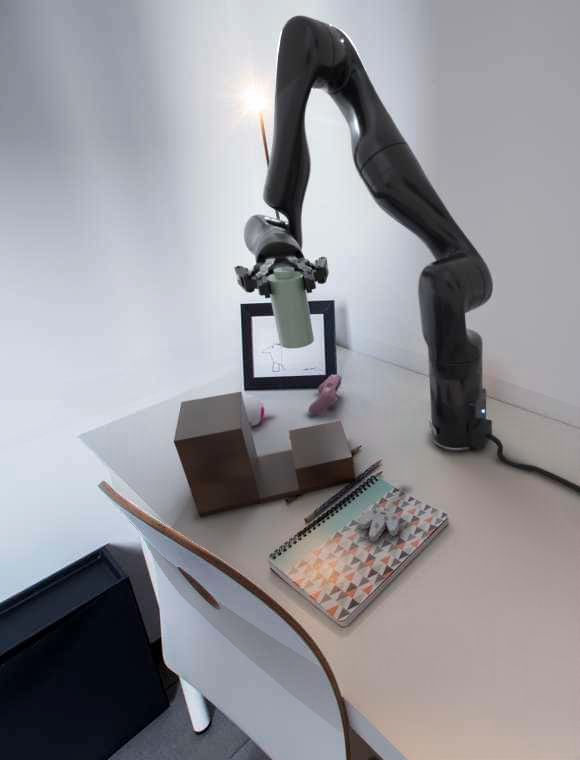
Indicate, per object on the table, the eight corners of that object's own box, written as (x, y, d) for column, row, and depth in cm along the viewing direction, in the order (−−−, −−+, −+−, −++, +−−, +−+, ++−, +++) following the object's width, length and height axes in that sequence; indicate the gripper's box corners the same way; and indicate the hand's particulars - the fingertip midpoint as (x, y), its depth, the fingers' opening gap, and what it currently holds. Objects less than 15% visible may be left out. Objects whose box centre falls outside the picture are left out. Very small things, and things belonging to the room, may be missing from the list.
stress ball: (266, 443, 104) (281, 415, 102) (225, 432, 99) (240, 403, 97) (261, 423, 110) (275, 396, 108) (222, 412, 105) (236, 384, 103)
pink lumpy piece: (327, 422, 106) (339, 395, 103) (306, 414, 106) (316, 386, 102) (337, 398, 115) (348, 372, 112) (317, 390, 114) (327, 364, 111)
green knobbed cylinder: (320, 337, 80) (309, 265, 75) (301, 350, 76) (287, 275, 71) (293, 333, 82) (280, 263, 77) (272, 346, 78) (257, 272, 73)
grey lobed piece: (358, 542, 75) (355, 528, 74) (368, 491, 85) (366, 478, 84) (397, 541, 75) (396, 527, 74) (404, 490, 85) (402, 477, 84)
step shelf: (344, 443, 97) (333, 375, 90) (356, 481, 87) (345, 408, 80) (204, 472, 90) (181, 401, 84) (199, 517, 81) (173, 441, 74)
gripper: (228, 239, 83) (226, 267, 69) (320, 231, 87) (336, 255, 73) (238, 286, 86) (239, 321, 72) (327, 276, 90) (343, 307, 76)
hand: (288, 288), depth 73 cm, fingers closed on green knobbed cylinder, 5 cm apart
